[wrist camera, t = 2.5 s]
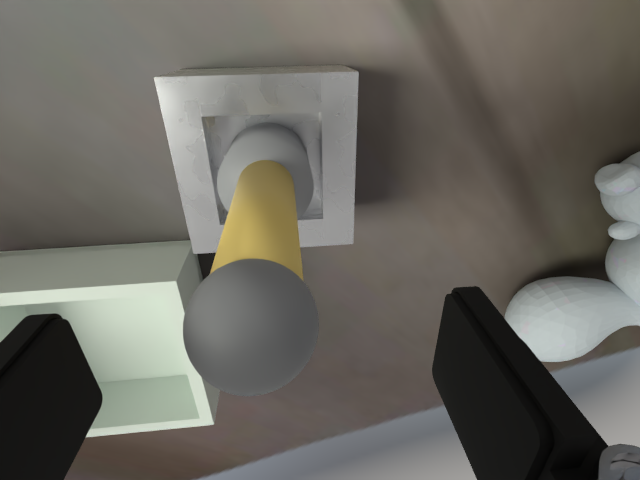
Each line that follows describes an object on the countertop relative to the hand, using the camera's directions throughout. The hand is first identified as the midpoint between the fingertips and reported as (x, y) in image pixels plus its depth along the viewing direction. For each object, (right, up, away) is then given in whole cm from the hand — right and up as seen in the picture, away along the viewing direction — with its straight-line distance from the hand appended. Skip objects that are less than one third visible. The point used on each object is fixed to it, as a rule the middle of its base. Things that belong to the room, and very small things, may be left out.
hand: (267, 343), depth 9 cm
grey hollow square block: (-2, +9, +16) cm, 18 cm away
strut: (-2, +7, +12) cm, 14 cm away
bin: (-16, -4, +22) cm, 27 cm away
